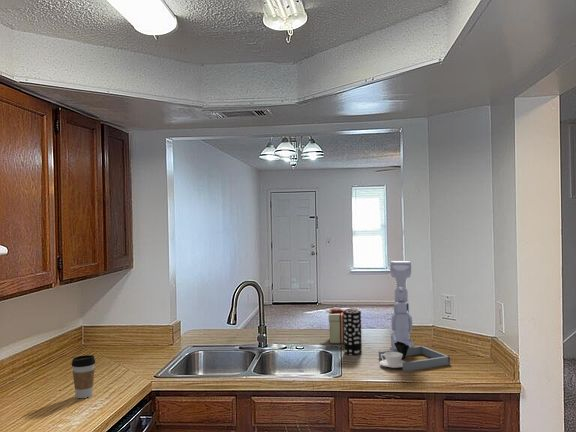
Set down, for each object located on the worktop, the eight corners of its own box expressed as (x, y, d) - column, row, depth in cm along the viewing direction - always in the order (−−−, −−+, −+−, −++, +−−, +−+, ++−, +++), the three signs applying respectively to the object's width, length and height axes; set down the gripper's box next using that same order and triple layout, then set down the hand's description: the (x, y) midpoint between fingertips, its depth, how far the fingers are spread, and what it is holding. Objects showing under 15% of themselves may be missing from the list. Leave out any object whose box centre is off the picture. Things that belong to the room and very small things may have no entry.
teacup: (381, 361, 224) (381, 349, 224) (408, 363, 221) (408, 351, 221) (377, 369, 213) (377, 356, 213) (406, 371, 209) (406, 358, 209)
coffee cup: (84, 401, 182) (83, 360, 182) (67, 398, 185) (66, 358, 185) (100, 393, 190) (100, 354, 190) (83, 391, 193) (83, 353, 193)
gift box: (356, 335, 274) (355, 304, 274) (360, 344, 255) (359, 310, 255) (325, 336, 274) (325, 304, 274) (327, 344, 256) (326, 311, 256)
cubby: (378, 359, 228) (378, 351, 228) (421, 353, 237) (421, 345, 237) (404, 371, 209) (404, 363, 209) (450, 364, 217) (450, 356, 217)
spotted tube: (363, 351, 241) (363, 310, 241) (358, 356, 233) (358, 313, 233) (347, 350, 244) (346, 309, 244) (342, 354, 237) (341, 312, 237)
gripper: (385, 326, 226) (385, 356, 226) (403, 333, 212) (404, 364, 212) (398, 324, 229) (399, 354, 229) (417, 331, 215) (418, 362, 215)
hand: (402, 359), depth 221 cm, fingers closed
